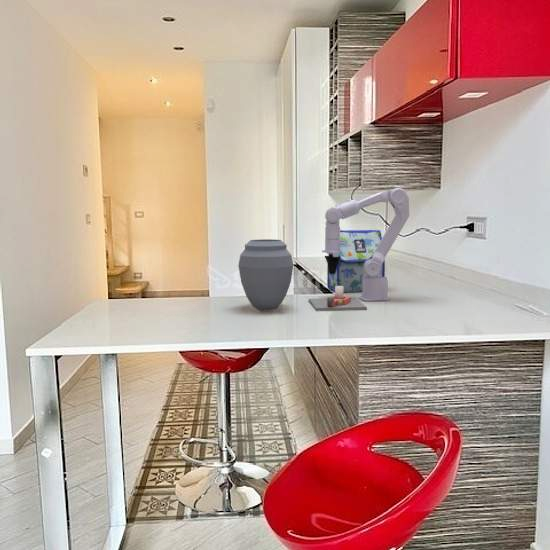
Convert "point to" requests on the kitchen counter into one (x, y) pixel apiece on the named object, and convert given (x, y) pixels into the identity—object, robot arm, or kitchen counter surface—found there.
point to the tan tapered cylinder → (339, 302)
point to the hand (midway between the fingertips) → (332, 273)
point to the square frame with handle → (333, 302)
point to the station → (322, 305)
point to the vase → (265, 272)
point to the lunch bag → (354, 259)
